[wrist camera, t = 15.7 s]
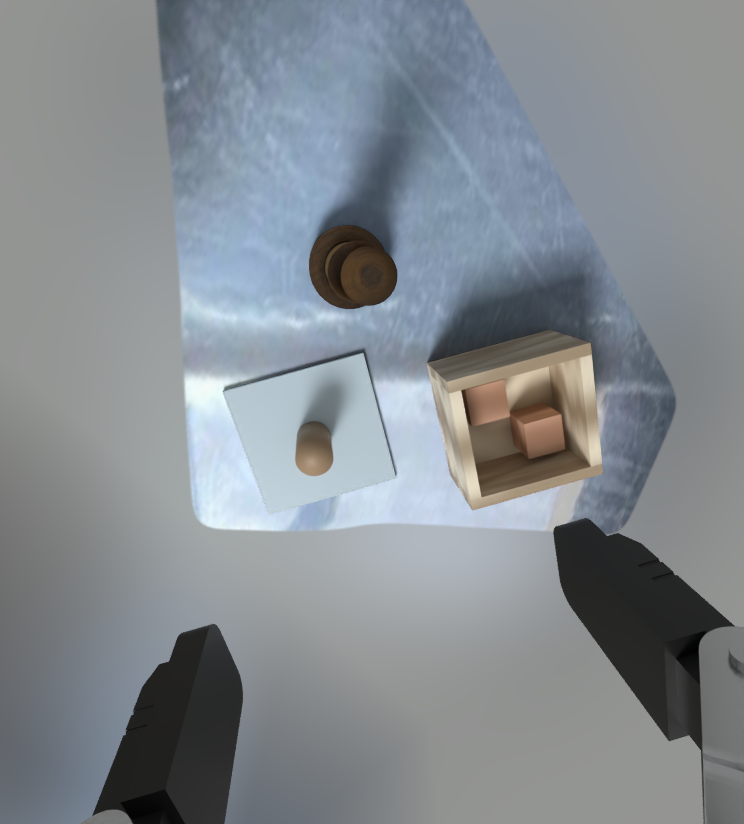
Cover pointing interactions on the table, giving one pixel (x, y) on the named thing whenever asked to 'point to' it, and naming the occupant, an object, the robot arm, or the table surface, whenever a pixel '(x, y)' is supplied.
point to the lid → (312, 433)
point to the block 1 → (486, 403)
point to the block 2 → (537, 430)
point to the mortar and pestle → (351, 268)
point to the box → (525, 386)
